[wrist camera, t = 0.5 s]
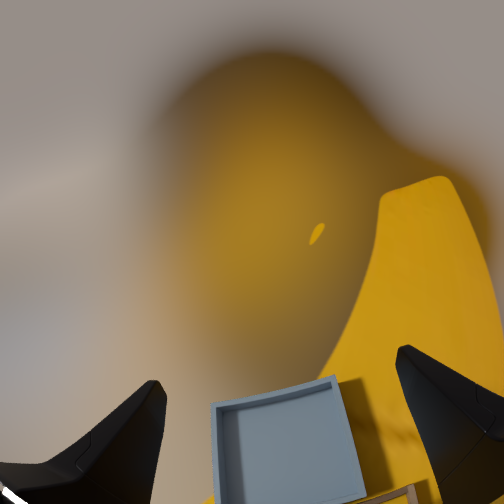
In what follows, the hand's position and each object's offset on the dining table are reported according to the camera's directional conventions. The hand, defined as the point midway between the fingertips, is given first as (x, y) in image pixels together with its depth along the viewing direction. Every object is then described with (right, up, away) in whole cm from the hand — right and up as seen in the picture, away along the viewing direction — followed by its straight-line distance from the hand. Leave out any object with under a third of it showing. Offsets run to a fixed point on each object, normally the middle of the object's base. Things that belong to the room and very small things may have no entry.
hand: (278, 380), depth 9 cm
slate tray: (+2, -12, +9) cm, 15 cm away
